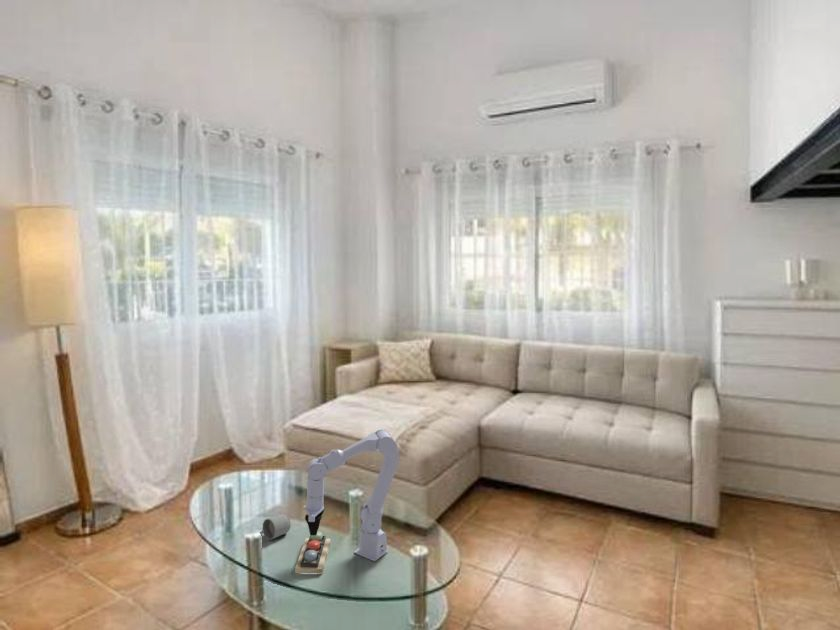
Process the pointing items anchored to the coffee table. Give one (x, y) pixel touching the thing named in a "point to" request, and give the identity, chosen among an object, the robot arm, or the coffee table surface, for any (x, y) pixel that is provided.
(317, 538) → the sage green button
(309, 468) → the robot arm
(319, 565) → the button panel
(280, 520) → the ceramic mug
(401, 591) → the coffee table surface
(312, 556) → the slate blue button
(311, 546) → the red button
